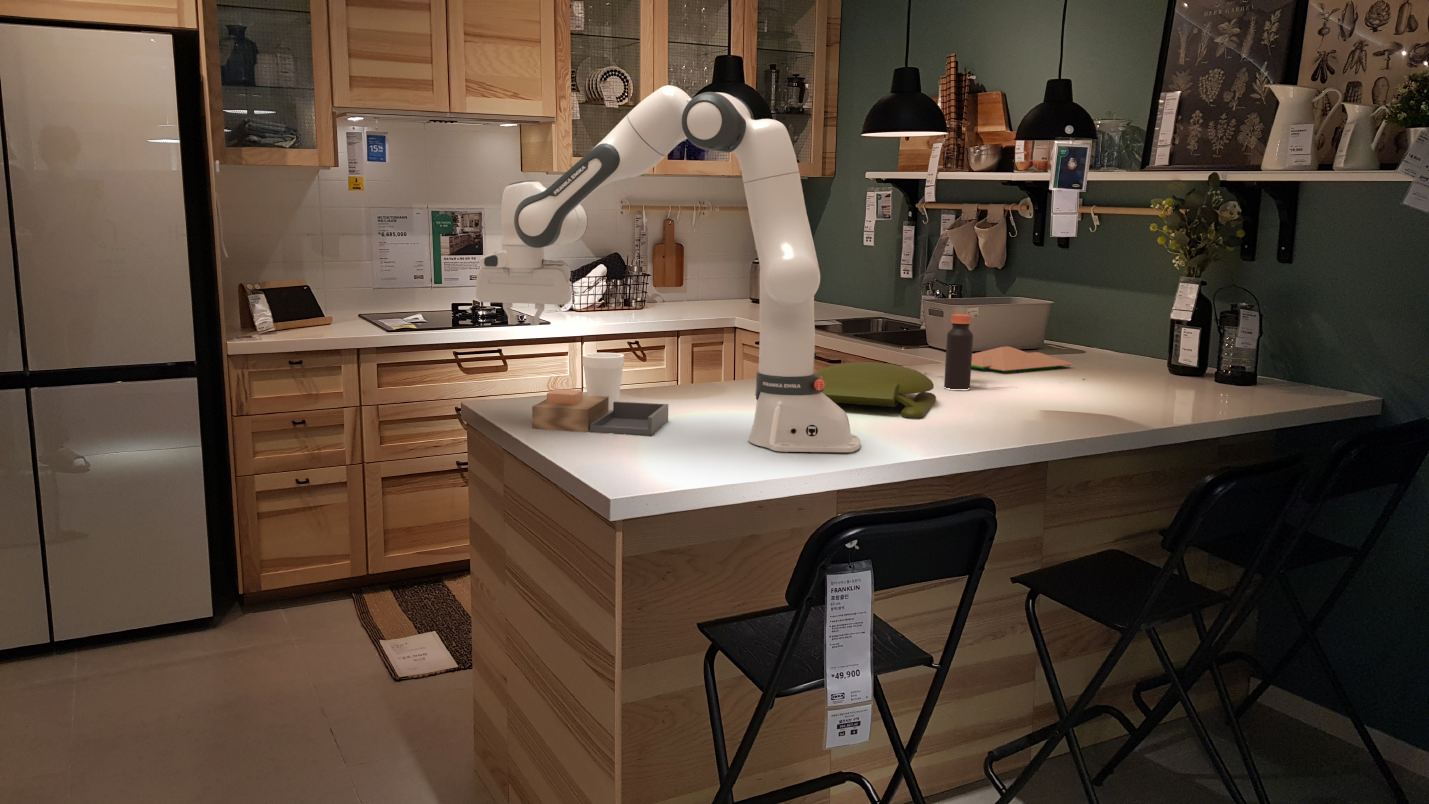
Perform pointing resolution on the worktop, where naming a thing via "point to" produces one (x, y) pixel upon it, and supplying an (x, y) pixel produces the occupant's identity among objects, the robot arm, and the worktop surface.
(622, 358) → the foam cup
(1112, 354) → the worktop surface
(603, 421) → the box
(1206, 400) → the worktop surface
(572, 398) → the terracotta tile
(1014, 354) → the tan and green mat
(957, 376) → the bottle
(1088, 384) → the worktop surface
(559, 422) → the walnut platform
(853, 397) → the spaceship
